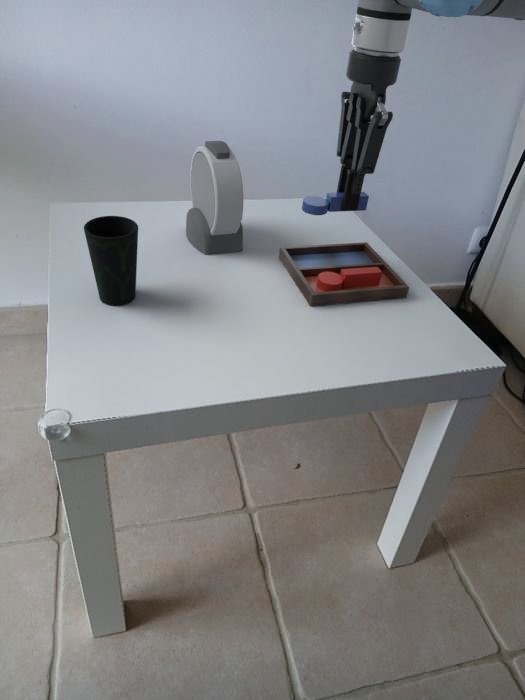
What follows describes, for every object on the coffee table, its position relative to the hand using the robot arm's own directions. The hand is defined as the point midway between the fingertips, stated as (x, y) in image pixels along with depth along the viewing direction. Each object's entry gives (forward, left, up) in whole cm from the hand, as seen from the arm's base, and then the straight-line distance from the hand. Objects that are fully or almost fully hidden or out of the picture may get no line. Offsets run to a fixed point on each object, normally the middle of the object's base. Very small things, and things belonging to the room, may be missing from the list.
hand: (345, 206), depth 90 cm
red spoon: (-5, +5, -11) cm, 13 cm away
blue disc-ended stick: (+2, +2, 0) cm, 3 cm away
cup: (+22, +33, -12) cm, 41 cm away
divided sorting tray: (-2, +2, -12) cm, 13 cm away
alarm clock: (+24, +6, -12) cm, 27 cm away
